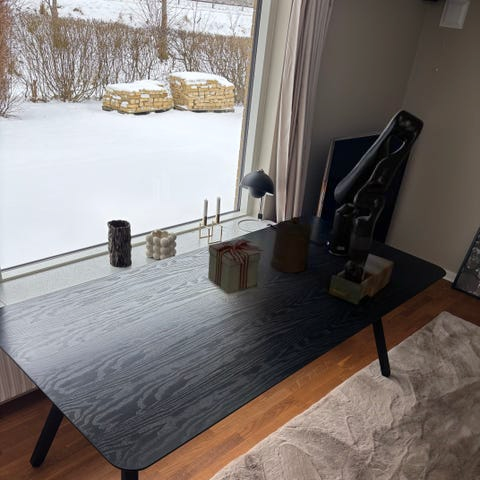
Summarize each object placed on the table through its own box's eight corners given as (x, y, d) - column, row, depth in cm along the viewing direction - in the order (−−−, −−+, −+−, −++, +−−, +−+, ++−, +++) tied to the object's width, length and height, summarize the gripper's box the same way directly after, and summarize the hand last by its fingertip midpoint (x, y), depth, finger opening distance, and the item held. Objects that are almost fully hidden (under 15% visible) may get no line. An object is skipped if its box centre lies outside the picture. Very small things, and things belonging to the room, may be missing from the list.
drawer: (350, 310, 181) (354, 292, 177) (321, 298, 187) (324, 280, 183) (374, 290, 196) (379, 273, 191) (347, 280, 202) (350, 263, 198)
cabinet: (371, 296, 193) (376, 275, 188) (341, 285, 200) (345, 263, 195) (388, 282, 205) (394, 262, 199) (359, 272, 211) (363, 251, 206)
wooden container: (311, 264, 215) (318, 217, 204) (296, 276, 204) (303, 227, 193) (281, 255, 222) (287, 209, 210) (265, 266, 211) (270, 218, 199)
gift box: (234, 298, 185) (237, 257, 176) (205, 279, 196) (206, 240, 187) (266, 286, 195) (270, 247, 186) (236, 269, 206) (239, 231, 197)
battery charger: (340, 289, 192) (345, 263, 186) (345, 286, 195) (350, 260, 189) (356, 296, 188) (361, 269, 182) (360, 292, 191) (366, 266, 185)
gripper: (360, 253, 174) (352, 294, 183) (377, 242, 184) (368, 282, 193) (342, 247, 178) (334, 288, 187) (359, 237, 188) (351, 276, 197)
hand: (352, 285), depth 190 cm, fingers closed on battery charger, 4 cm apart
